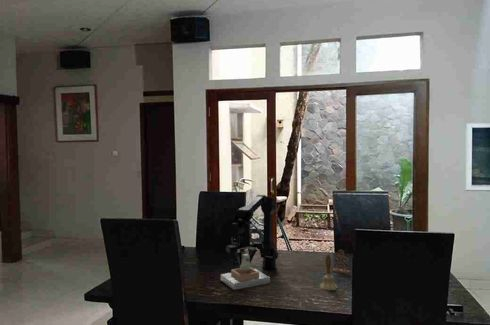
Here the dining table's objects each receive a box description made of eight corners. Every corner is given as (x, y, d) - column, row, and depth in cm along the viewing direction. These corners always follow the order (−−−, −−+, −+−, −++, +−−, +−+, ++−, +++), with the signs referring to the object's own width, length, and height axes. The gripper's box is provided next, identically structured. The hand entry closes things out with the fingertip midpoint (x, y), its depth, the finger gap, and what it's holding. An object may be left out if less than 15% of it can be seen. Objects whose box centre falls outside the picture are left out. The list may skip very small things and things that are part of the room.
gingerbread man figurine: (350, 272, 220) (350, 250, 219) (348, 274, 216) (348, 251, 216) (334, 269, 224) (334, 248, 224) (331, 271, 221) (331, 249, 220)
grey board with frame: (254, 274, 218) (254, 264, 218) (269, 283, 204) (269, 272, 203) (220, 280, 209) (220, 269, 209) (233, 289, 195) (233, 278, 194)
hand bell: (327, 291, 191) (327, 258, 190) (316, 286, 198) (316, 254, 198) (341, 288, 195) (341, 255, 194) (330, 283, 202) (329, 251, 201)
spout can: (247, 266, 209) (247, 253, 209) (253, 270, 203) (253, 256, 203) (238, 268, 207) (238, 254, 207) (244, 272, 201) (244, 258, 201)
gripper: (253, 228, 217) (253, 257, 217) (221, 232, 208) (221, 262, 209) (263, 232, 207) (263, 262, 207) (230, 236, 198) (230, 268, 199)
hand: (244, 264), depth 206 cm, fingers closed on spout can, 5 cm apart
